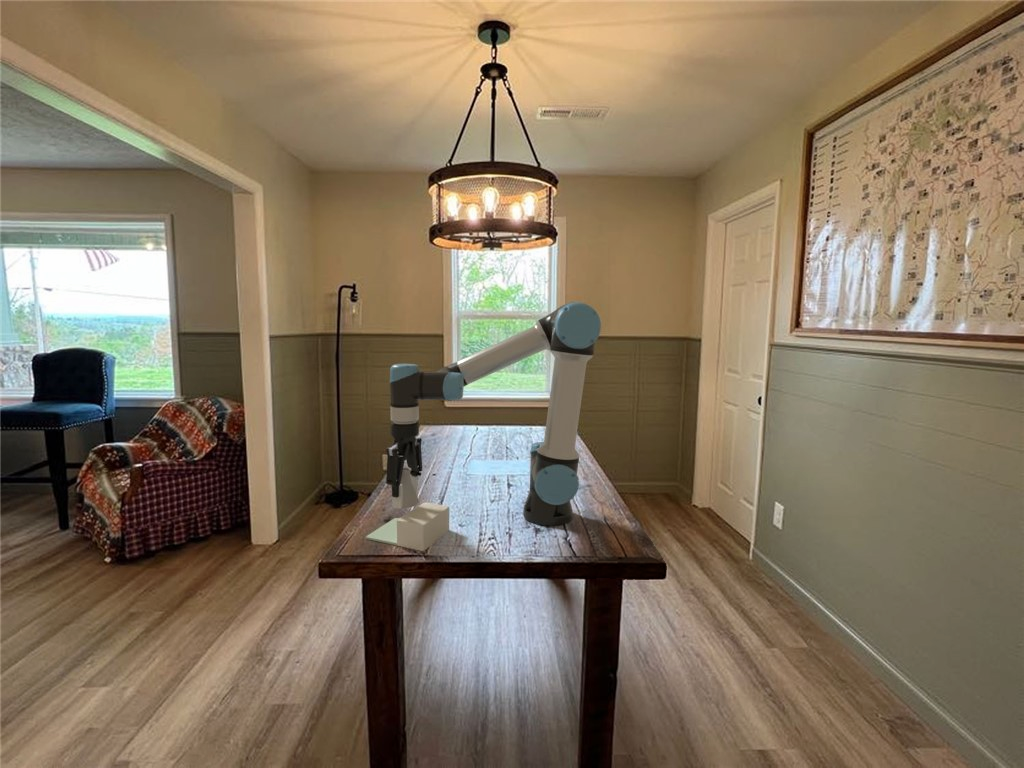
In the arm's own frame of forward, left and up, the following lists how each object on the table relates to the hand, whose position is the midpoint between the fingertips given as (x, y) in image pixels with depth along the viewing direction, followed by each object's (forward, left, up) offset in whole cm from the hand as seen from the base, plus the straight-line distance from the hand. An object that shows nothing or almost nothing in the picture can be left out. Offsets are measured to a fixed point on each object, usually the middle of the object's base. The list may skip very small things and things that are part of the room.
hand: (405, 502), depth 133 cm
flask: (0, 0, -1) cm, 1 cm away
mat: (+3, 0, -9) cm, 9 cm away
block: (-6, 0, -9) cm, 11 cm away
